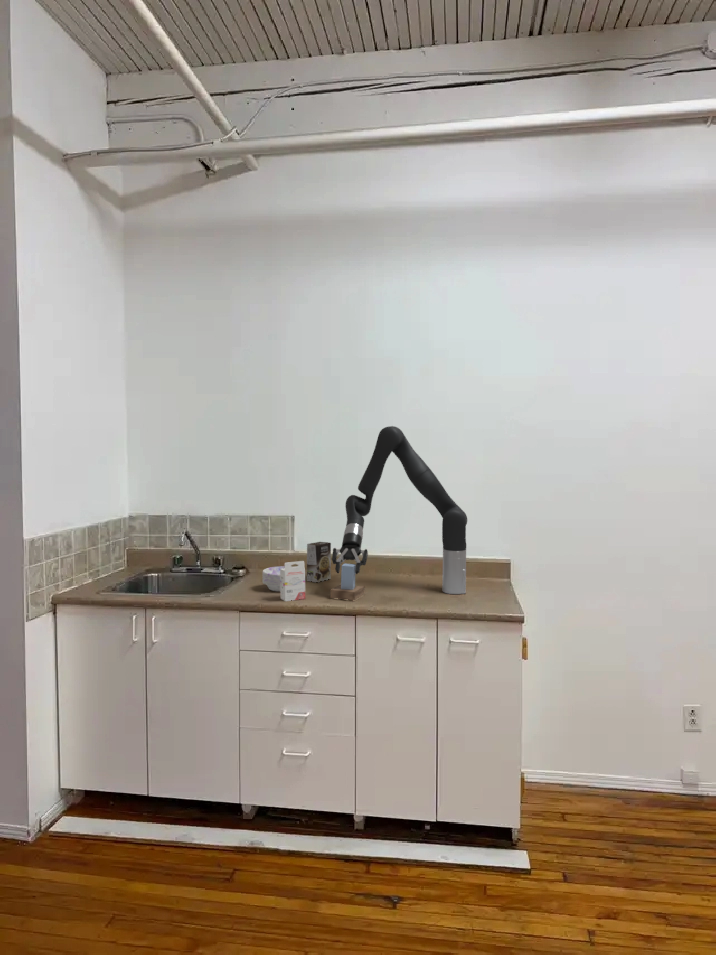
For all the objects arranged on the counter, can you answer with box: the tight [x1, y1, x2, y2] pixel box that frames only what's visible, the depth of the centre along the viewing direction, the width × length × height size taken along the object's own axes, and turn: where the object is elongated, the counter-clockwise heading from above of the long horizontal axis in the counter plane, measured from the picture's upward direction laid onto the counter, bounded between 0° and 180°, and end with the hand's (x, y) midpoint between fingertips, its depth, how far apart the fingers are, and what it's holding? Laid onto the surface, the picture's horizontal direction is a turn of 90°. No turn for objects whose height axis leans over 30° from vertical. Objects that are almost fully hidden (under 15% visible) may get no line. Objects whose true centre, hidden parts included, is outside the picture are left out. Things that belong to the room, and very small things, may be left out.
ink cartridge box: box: [279, 560, 306, 602], centre depth 255 cm, size 9×5×15 cm, turn 117°
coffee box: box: [306, 541, 332, 583], centre depth 288 cm, size 9×6×16 cm
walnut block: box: [330, 584, 366, 601], centre depth 259 cm, size 10×10×4 cm
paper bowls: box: [261, 565, 285, 592], centre depth 272 cm, size 15×15×8 cm
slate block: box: [340, 563, 356, 590], centre depth 258 cm, size 5×5×9 cm
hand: (347, 572), depth 257 cm, fingers open, 6 cm apart
